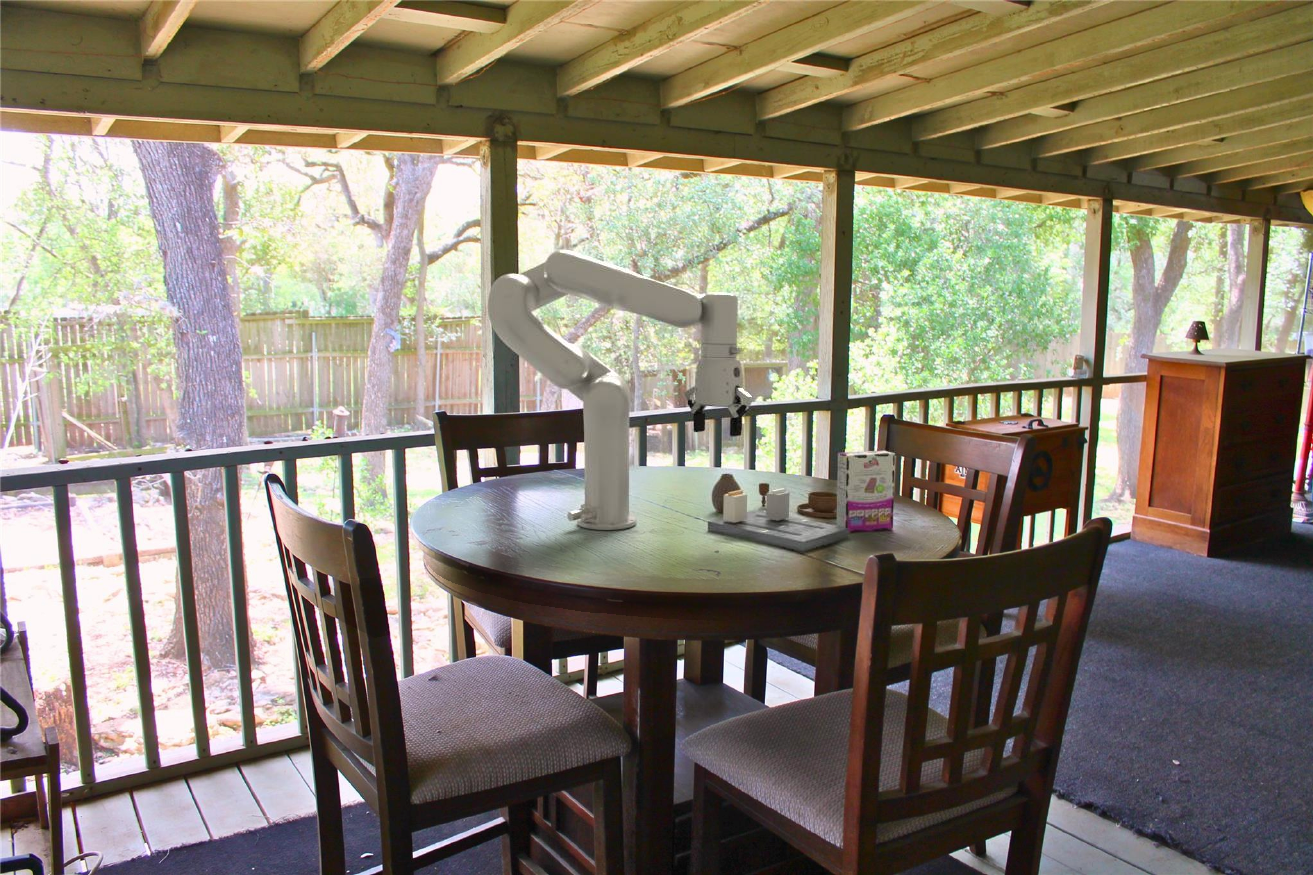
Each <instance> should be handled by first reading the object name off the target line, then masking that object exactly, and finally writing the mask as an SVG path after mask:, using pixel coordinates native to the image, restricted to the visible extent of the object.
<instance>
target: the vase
mask: <svg viewBox="0 0 1313 875" xmlns="http://www.w3.org/2000/svg"><path fill="white" fill-rule="evenodd" d="M738 490H742V489H741V487H740V485H739V484H738V482H737V481H736V479H735V477H734V475H733V473H722V474H721V475H720V478H719V479H718V480H717V482H716V483H715V484H714V486H713V488H712V491H711V503H712V506H713V508H714V509H715V510H716V512H717V513H719V514H723V509H724V495H725V494H728V492H733V491H738Z"/></svg>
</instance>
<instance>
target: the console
mask: <svg viewBox="0 0 1313 875" xmlns="http://www.w3.org/2000/svg"><path fill="white" fill-rule="evenodd" d="M707 531H708V532H712V533H717V534H721V535H726V536H728V537H729V536H730V537H735V538H739V539H744V540H749V541H751V542H755V543H756V542H758V543H761V544H765V545H771V546H774V545H775V547H779V548H783V547H785V548H784V549H789V550H792V549H794V550H793V551H797V552H801V551H802V553H804V551H805V552H807V551H810V549H811V550H814V549H817V548H816V547H818V548H820V546H821V547H823V546H822V545H824V546H827V545H829V544H833V543H837V542H840V541H843V540H846V539H849V537H850V533H849V528H846V527H841V526H837V524H835V525H834V524H829V523H824V522H819V521H815V520H809V519H803V518H799V517H793V516H789V518H785V519H782V520H778V521H777V520H772V519H767V518H766V511H763V510H759V509H758V510H757V509H754V510H753V509H752V510H749V511H747V520H743V521H739V522H735V523H734V522H729V521H724V520H723V517H721V518H720V517H719V518H717V519H712V520H708V521H707ZM813 548H814V549H813Z"/></svg>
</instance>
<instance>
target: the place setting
mask: <svg viewBox="0 0 1313 875" xmlns="http://www.w3.org/2000/svg"><path fill="white" fill-rule="evenodd" d="M769 492H770V483H766V482H761V483H758V493H759V495H760V496H761V507H764V508H765V507H766V497H767V493H769ZM807 508H808V509H811V510H812V511H808V510H807ZM796 511H797V512H798V513H799V514H800V515H802V516H805V515H806V516H807V517H810V516H811V518H818V517H826V518H825V519H837V512H834V511H837V492H830V491H811V492H809V493H808V500H807V503H800V504H797V506H796Z"/></svg>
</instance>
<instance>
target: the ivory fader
mask: <svg viewBox="0 0 1313 875" xmlns="http://www.w3.org/2000/svg"><path fill="white" fill-rule="evenodd" d="M747 512H748V493H747V494H746V493H744V490H743V489H741V490H738V491H733V492H728V494H725V495H724V509H723V513H722V514H723V516H722V518H723V520H724V521H729V522H734V523H735V522H739V521H743V520H747Z"/></svg>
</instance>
